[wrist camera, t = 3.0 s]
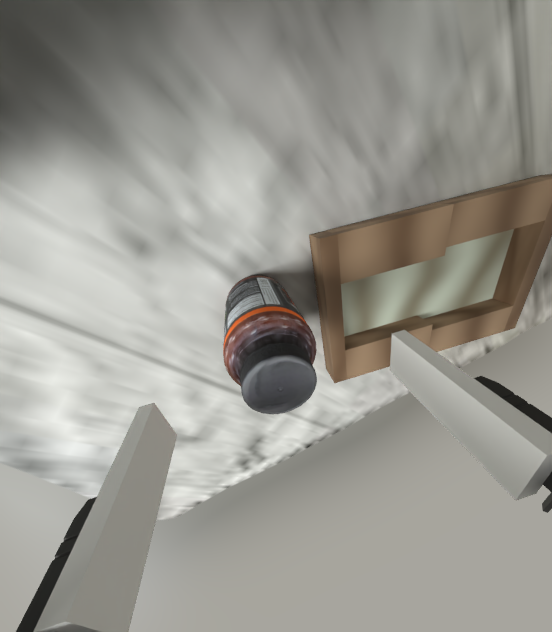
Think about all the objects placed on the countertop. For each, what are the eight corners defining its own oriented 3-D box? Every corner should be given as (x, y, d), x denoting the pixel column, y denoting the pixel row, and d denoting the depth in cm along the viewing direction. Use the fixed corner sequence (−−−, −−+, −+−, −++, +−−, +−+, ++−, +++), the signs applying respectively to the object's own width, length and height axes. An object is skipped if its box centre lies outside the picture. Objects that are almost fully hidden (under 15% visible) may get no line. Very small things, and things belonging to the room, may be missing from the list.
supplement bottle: (294, 316, 22) (344, 404, 13) (240, 337, 22) (249, 442, 12) (275, 263, 19) (322, 322, 10) (214, 287, 19) (198, 372, 10)
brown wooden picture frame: (326, 368, 27) (334, 383, 24) (309, 234, 19) (319, 238, 17) (492, 318, 28) (514, 327, 26) (540, 175, 20) (577, 171, 18)
